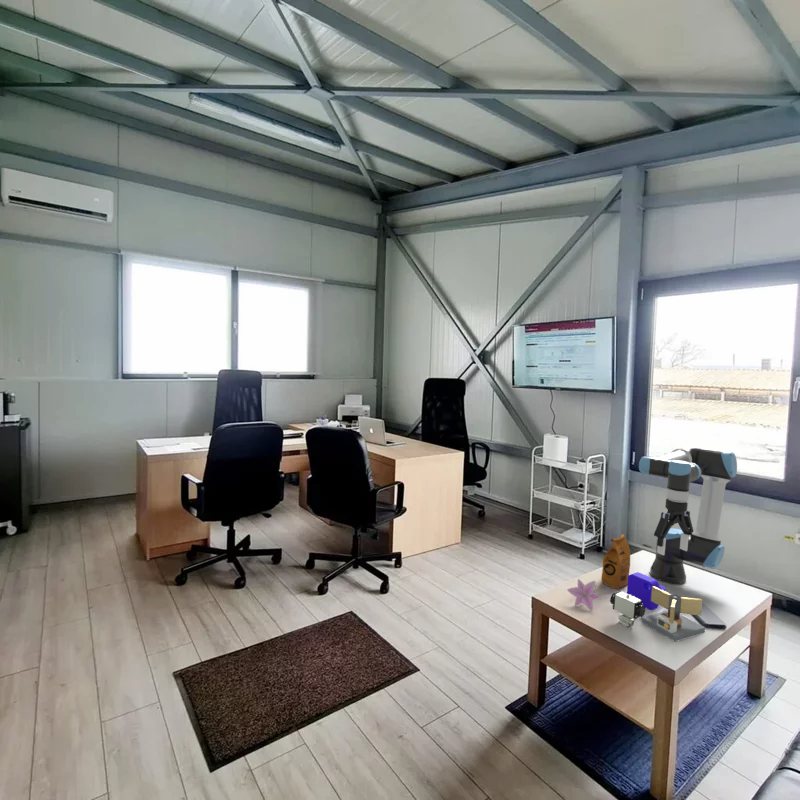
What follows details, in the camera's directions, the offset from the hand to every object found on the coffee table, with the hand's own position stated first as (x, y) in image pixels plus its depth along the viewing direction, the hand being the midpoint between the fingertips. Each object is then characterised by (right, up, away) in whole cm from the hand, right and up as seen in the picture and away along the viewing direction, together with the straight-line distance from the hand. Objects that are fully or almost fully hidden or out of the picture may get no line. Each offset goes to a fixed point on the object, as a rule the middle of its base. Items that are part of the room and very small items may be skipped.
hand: (672, 551), depth 190 cm
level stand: (-4, -27, -7) cm, 28 cm away
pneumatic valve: (-21, -26, -6) cm, 34 cm away
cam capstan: (-5, -25, -5) cm, 25 cm away
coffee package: (-10, -24, +29) cm, 39 cm away
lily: (-32, -25, +8) cm, 42 cm away
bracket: (-1, -26, +15) cm, 30 cm away
